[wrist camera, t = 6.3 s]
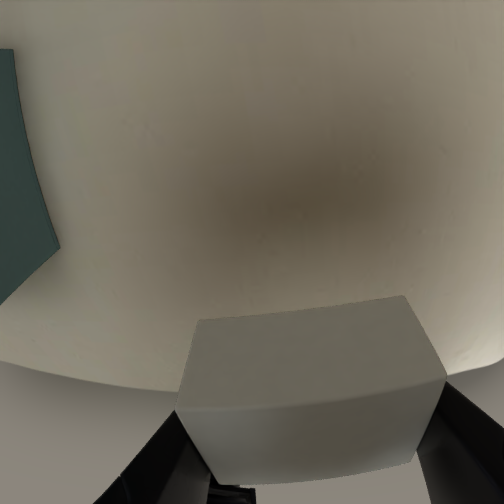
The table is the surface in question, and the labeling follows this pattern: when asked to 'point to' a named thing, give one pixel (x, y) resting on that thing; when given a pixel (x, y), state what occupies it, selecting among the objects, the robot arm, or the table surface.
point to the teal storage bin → (19, 193)
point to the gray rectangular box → (309, 392)
